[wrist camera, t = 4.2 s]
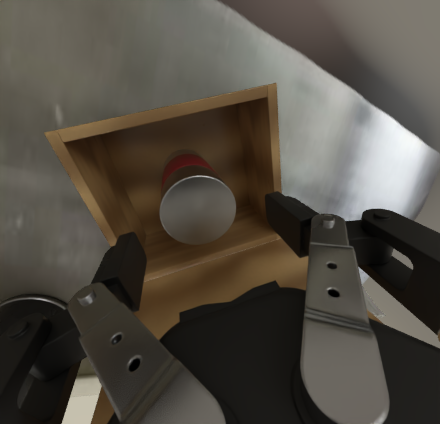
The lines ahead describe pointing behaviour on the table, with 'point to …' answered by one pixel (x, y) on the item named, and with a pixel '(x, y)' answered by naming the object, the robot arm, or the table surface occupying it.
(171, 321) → the lid
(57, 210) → the table surface
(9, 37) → the table surface
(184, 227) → the can
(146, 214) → the chest
